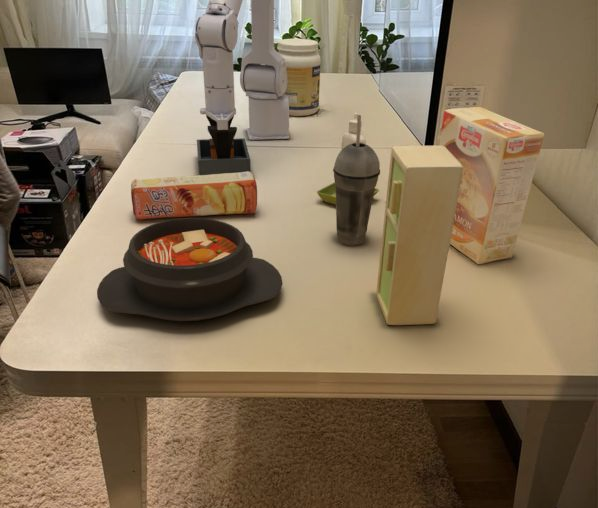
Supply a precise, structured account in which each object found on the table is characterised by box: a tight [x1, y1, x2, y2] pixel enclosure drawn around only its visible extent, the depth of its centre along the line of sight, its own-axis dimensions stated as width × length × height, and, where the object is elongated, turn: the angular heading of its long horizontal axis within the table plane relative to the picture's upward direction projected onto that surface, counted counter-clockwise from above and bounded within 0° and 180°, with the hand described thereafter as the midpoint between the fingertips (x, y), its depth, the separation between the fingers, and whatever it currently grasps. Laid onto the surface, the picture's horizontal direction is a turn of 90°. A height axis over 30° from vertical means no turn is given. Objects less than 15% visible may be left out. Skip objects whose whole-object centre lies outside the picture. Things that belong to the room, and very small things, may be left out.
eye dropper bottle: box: [341, 112, 367, 150], centre depth 120 cm, size 4×6×12 cm
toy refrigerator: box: [375, 145, 463, 326], centre depth 75 cm, size 8×7×21 cm
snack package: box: [130, 171, 258, 220], centre depth 103 cm, size 21×7×7 cm, turn 100°
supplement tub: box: [276, 38, 322, 117], centre depth 157 cm, size 12×12×17 cm
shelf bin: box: [196, 137, 252, 175], centre depth 123 cm, size 10×13×4 cm
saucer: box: [316, 181, 380, 206], centre depth 111 cm, size 9×9×2 cm
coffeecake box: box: [438, 106, 545, 265], centre depth 93 cm, size 15×7×20 cm, turn 23°
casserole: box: [96, 217, 283, 322], centre depth 80 cm, size 25×19×8 cm
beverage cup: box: [332, 114, 381, 246], centre depth 92 cm, size 7×7×20 cm
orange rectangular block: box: [209, 138, 234, 159], centre depth 123 cm, size 5×4×5 cm
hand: (222, 155), depth 123 cm, fingers open, 7 cm apart
